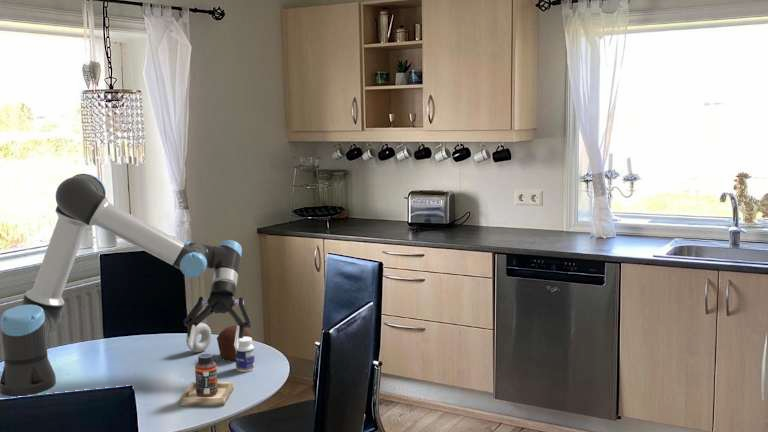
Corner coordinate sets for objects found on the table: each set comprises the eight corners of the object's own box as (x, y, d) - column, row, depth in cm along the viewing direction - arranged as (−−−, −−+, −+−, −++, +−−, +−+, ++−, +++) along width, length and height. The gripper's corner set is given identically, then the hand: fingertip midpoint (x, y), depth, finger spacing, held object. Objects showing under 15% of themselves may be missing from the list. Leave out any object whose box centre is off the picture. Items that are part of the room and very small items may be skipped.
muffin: (254, 360, 244) (252, 330, 243) (219, 364, 241) (217, 334, 240) (249, 349, 256) (248, 321, 254) (216, 353, 252) (215, 324, 251)
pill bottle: (232, 369, 236) (231, 338, 235) (247, 364, 240) (246, 334, 239) (243, 373, 232) (242, 342, 231) (258, 368, 237) (257, 338, 235)
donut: (207, 347, 259) (206, 318, 257) (214, 348, 257) (213, 320, 255) (184, 355, 251) (183, 326, 249) (191, 357, 249) (190, 327, 247)
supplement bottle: (212, 398, 210) (210, 359, 209) (192, 397, 211) (190, 358, 210) (221, 390, 216) (219, 352, 214) (201, 389, 217) (199, 351, 216)
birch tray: (180, 405, 208) (180, 398, 208) (192, 389, 220) (192, 382, 220) (223, 405, 208) (223, 398, 207) (233, 389, 220) (233, 382, 219)
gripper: (265, 292, 239) (256, 353, 226) (187, 291, 240) (174, 352, 227) (261, 279, 233) (252, 341, 220) (181, 278, 234) (168, 340, 221)
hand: (213, 347), depth 224 cm, fingers open, 13 cm apart
